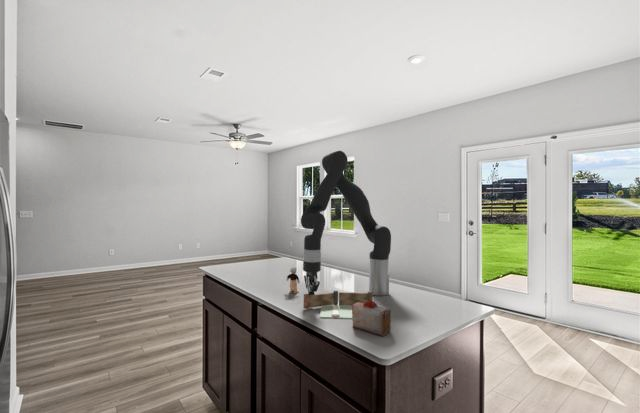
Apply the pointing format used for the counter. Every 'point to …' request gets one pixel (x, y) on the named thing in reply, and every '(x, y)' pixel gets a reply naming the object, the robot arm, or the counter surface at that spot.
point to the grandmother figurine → (293, 280)
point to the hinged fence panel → (320, 299)
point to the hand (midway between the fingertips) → (311, 300)
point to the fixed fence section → (354, 298)
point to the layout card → (336, 311)
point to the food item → (371, 318)
